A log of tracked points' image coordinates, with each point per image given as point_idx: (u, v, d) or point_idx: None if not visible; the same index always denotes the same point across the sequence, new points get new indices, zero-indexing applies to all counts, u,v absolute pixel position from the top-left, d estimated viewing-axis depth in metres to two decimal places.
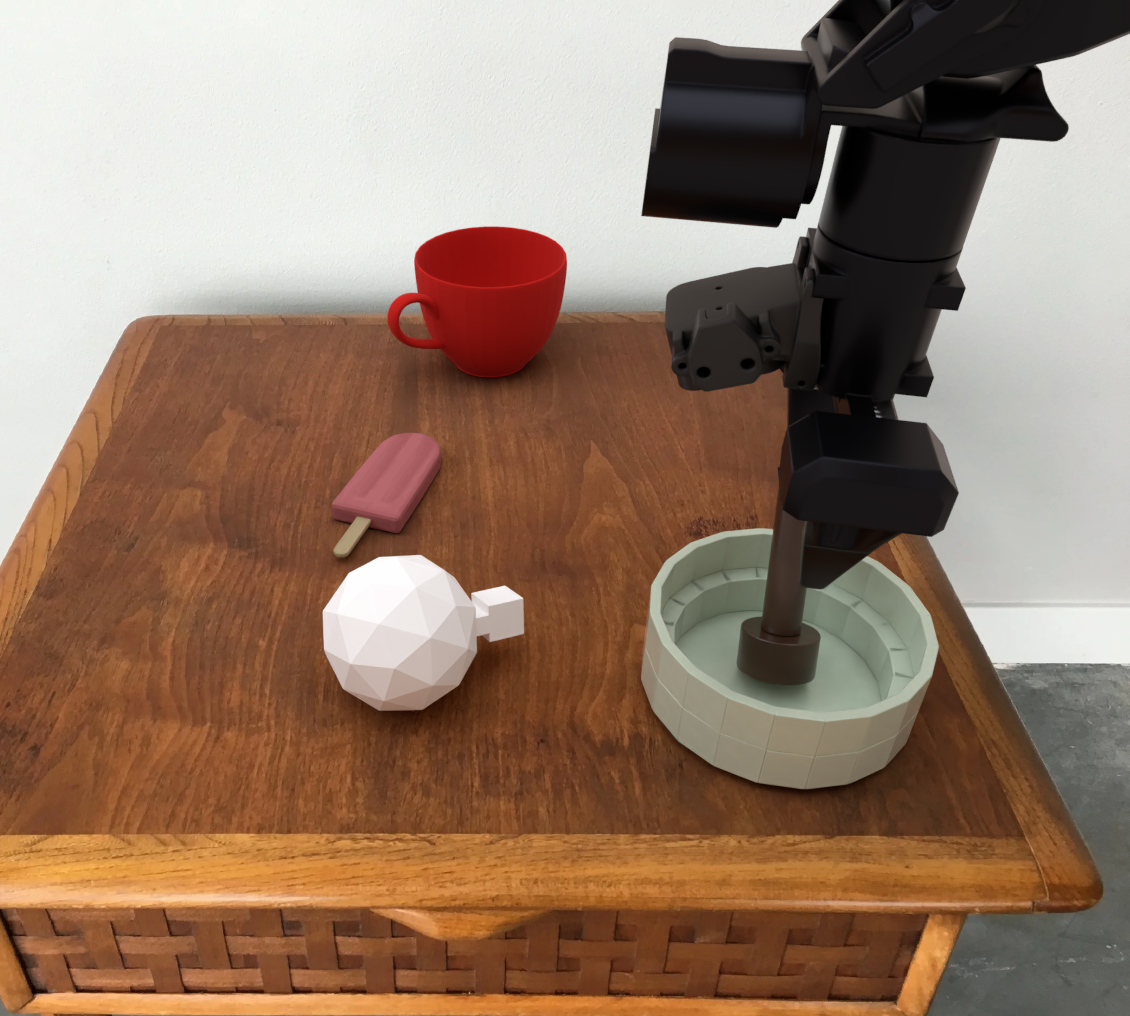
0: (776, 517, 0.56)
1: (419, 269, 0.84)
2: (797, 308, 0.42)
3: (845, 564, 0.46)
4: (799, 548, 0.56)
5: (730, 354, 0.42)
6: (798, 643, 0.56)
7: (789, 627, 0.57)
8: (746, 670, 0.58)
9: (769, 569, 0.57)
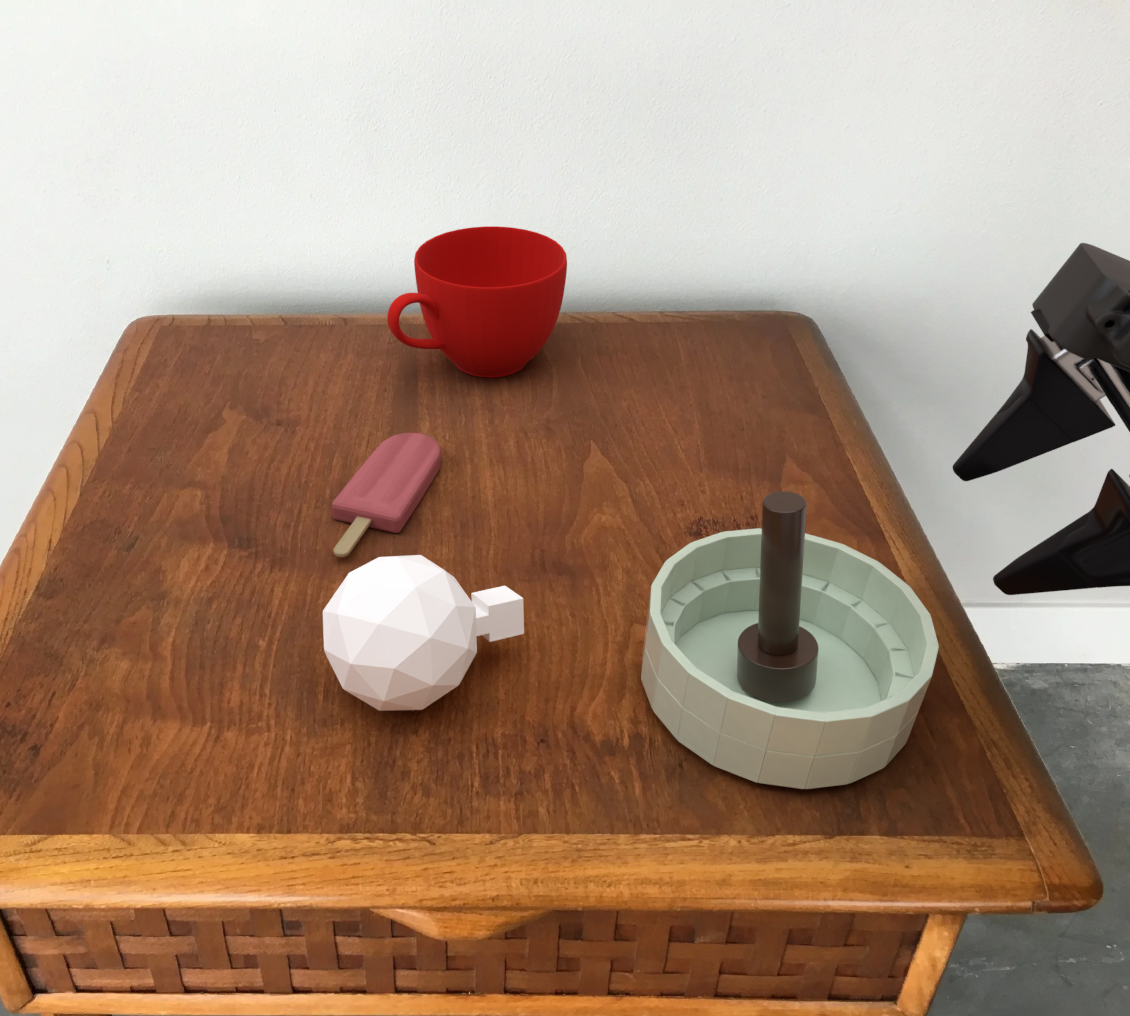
0: (763, 550, 0.54)
1: (419, 269, 0.84)
2: None
3: (1063, 585, 0.45)
4: (790, 579, 0.54)
5: None
6: (799, 663, 0.56)
7: (787, 647, 0.57)
8: (749, 690, 0.58)
9: (761, 596, 0.56)
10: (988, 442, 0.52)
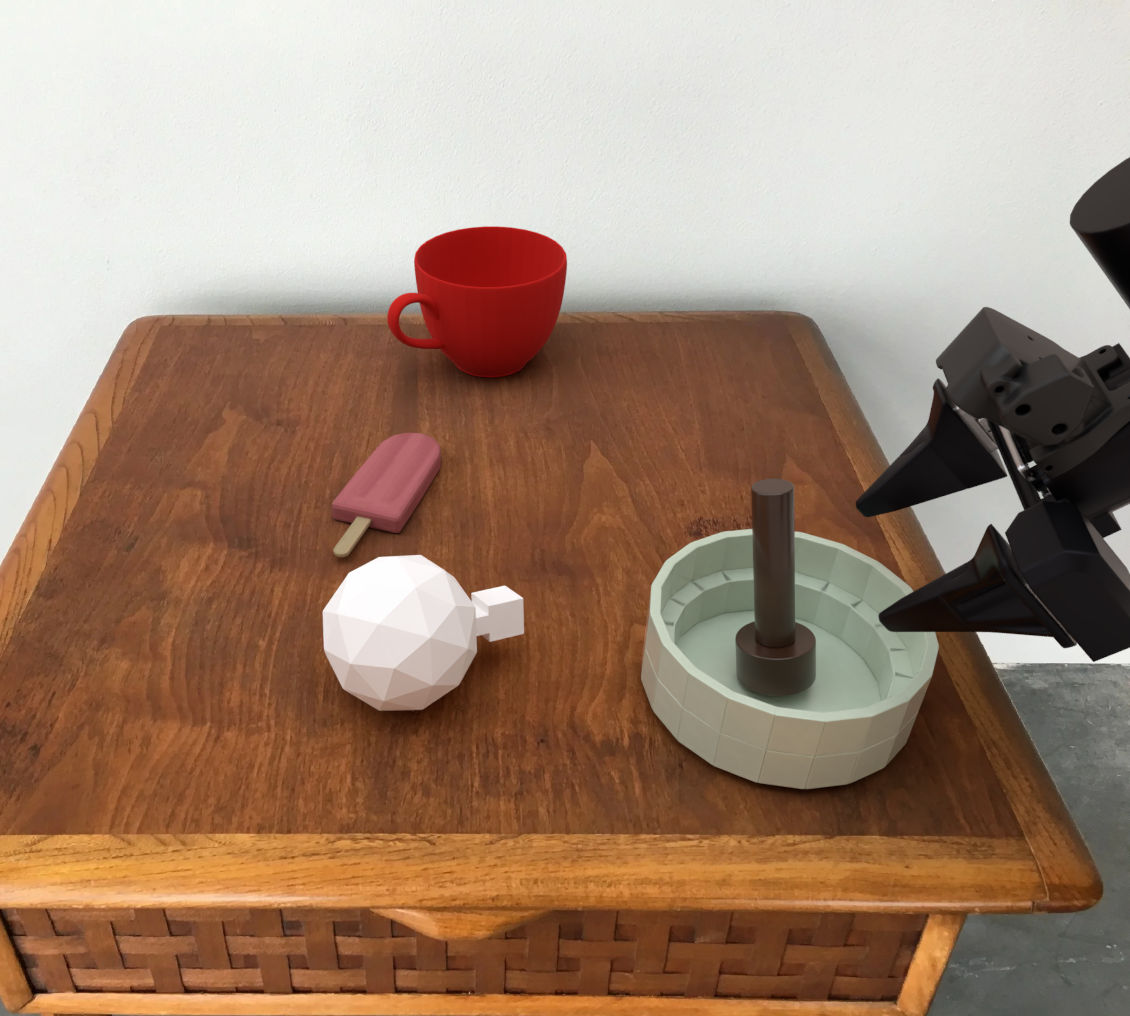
0: (757, 539, 0.55)
1: (419, 269, 0.84)
2: (1105, 409, 0.43)
3: (941, 627, 0.48)
4: (787, 564, 0.55)
5: (1059, 412, 0.42)
6: (802, 651, 0.56)
7: (788, 637, 0.57)
8: (756, 688, 0.57)
9: (758, 588, 0.56)
10: (889, 482, 0.55)
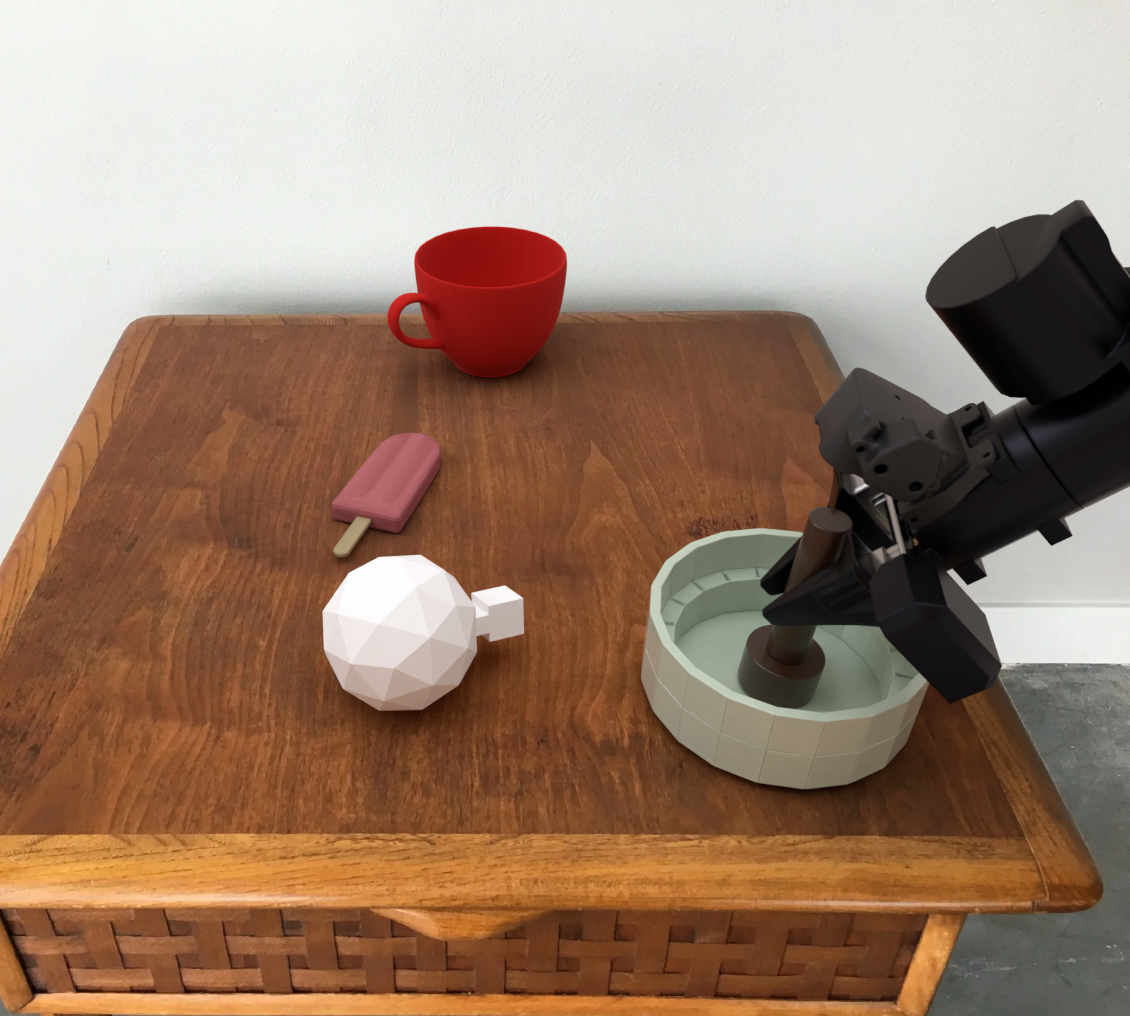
0: (803, 568, 0.53)
1: (419, 269, 0.84)
2: (962, 466, 0.46)
3: (815, 621, 0.53)
4: None
5: (913, 471, 0.44)
6: (816, 670, 0.56)
7: (803, 655, 0.57)
8: (763, 700, 0.57)
9: None
10: (791, 563, 0.55)
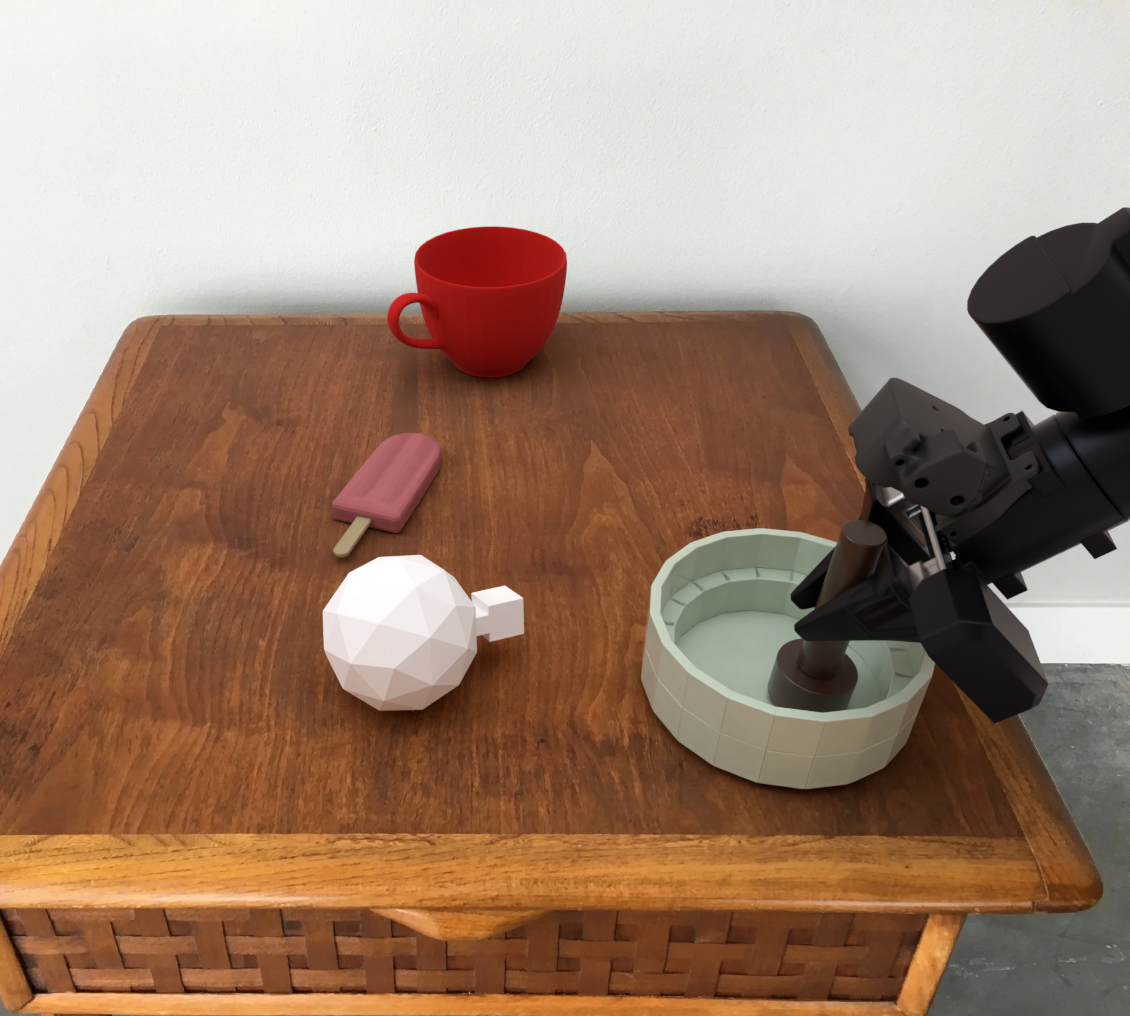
0: (836, 582, 0.52)
1: (419, 269, 0.84)
2: (1004, 478, 0.45)
3: (849, 636, 0.52)
4: None
5: (955, 485, 0.43)
6: (849, 685, 0.55)
7: (836, 670, 0.55)
8: None
9: None
10: (823, 576, 0.54)
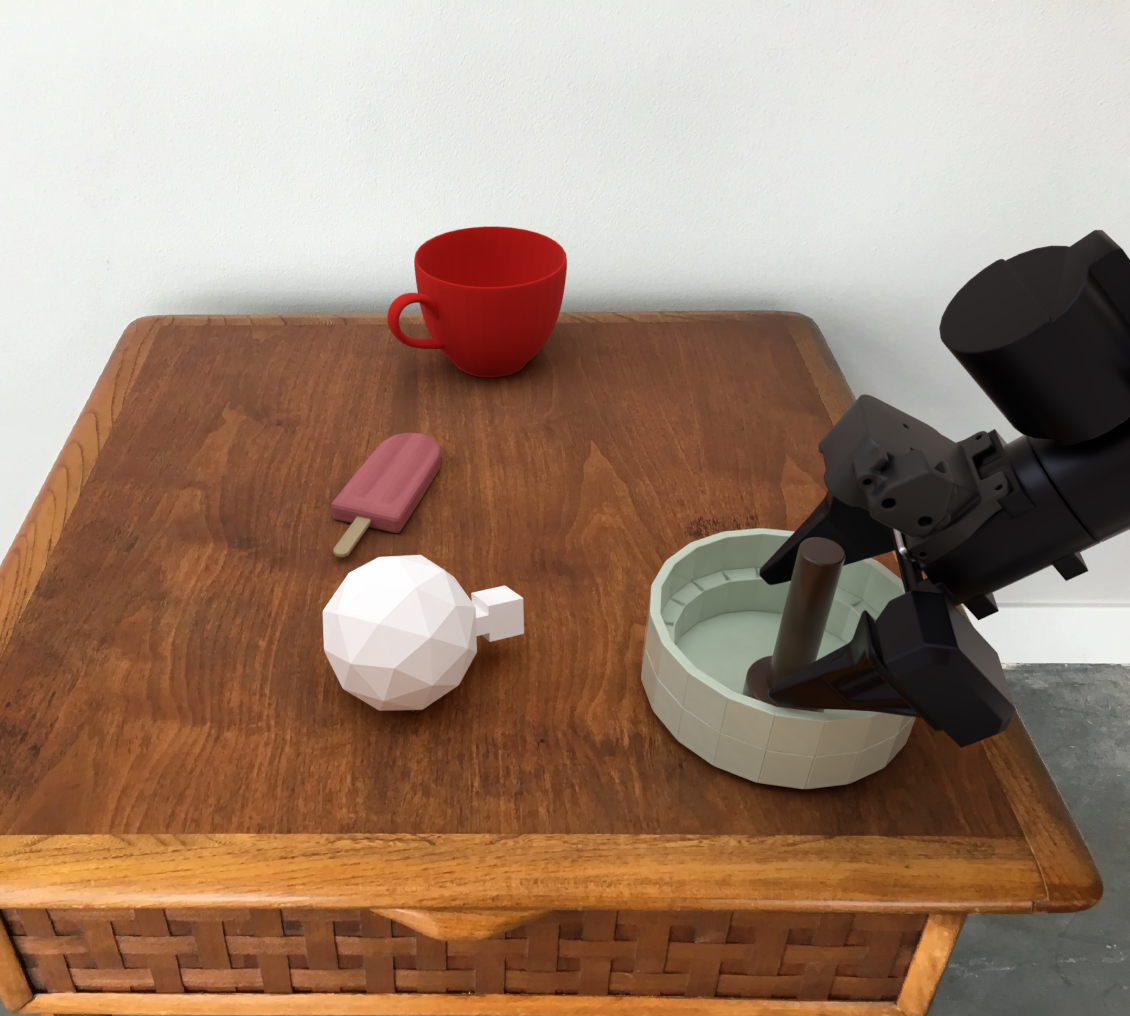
0: (797, 601, 0.51)
1: (419, 269, 0.84)
2: (973, 499, 0.44)
3: (826, 704, 0.49)
4: (822, 625, 0.52)
5: (923, 506, 0.43)
6: None
7: None
8: None
9: (785, 644, 0.53)
10: (790, 553, 0.56)
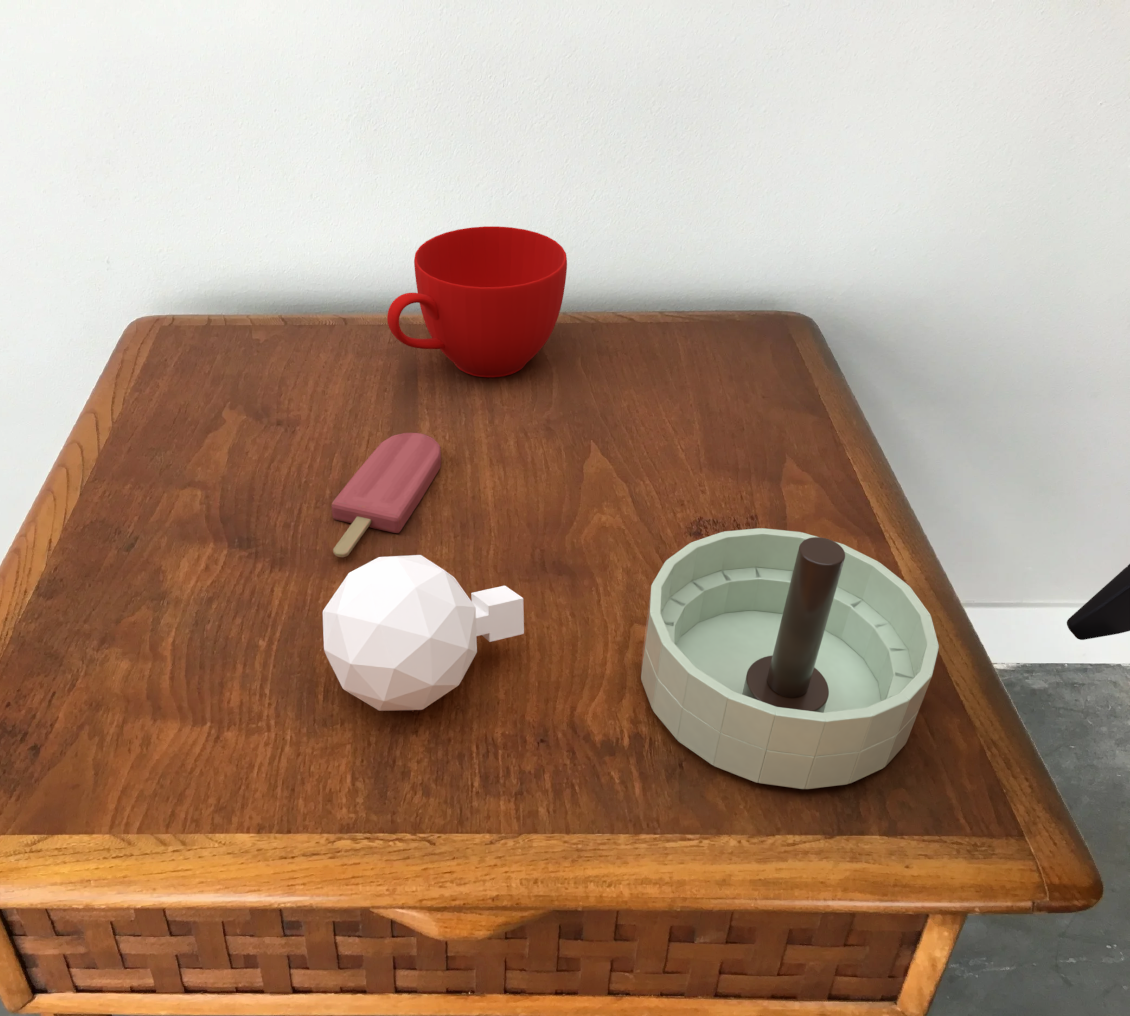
0: (797, 601, 0.51)
1: (419, 269, 0.84)
2: None
3: None
4: (822, 625, 0.52)
5: None
6: (819, 703, 0.55)
7: (805, 687, 0.55)
8: None
9: (785, 644, 0.53)
10: (1116, 600, 0.44)
